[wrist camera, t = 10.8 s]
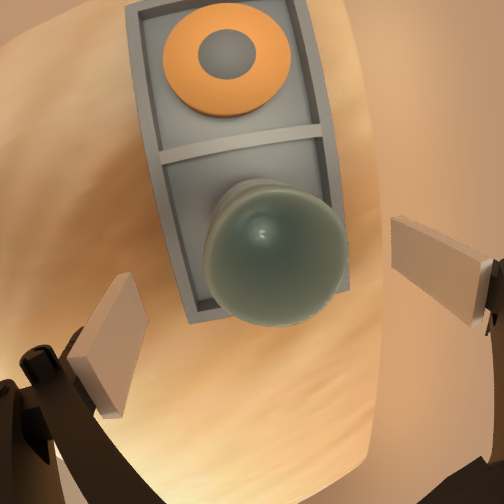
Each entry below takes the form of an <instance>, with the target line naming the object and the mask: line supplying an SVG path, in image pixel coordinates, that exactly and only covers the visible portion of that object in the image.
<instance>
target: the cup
mask: <svg viewBox="0 0 504 504" xmlns="http://www.w3.org/2000/svg"><path fill="white" fill-rule="evenodd" d="M348 258H349V242H348V237H347V232H346V230H345V228H344V226H343V224H342V222H341V220H340V218H339V217H338V216H337V214H336V213H335V212H334V211H333V210H332V208H331V207H329V206H328V205H327V204H326V203H324V202H323V201H322V200H321V199H319V198H318V197H316V196H315V195H313V194H311V193H309V192H307V191H305V190H303V189H301V188H299V187H297V186H294V185H292V184H289V183H285V182H282V181H279V180H275V179H267V178H255V179H248V180H245V181H242V182H239V183H237V184H235V185H234V186H232V187H231V188H229V189H228V190H227V191H226V192H225V193H224V194H223V195H222V196H221V198H220V199H219V201H218V202H217V204H216V205H215V207H214V209H213V211H212V214H211V216H210V218H209V222H208V226H207V230H206V234H205V240H204V251H203V269H204V276H205V281H206V284H207V286H208V289H209V291H210V293H211V295H212V296H213V298H214V299H215V300H216V302H217V303H218V304H219V305H220V306H221V307H222V308H223V309H224V310H226V311H227V312H228V313H229V314H231V315H233V316H235V317H237V318H238V319H240V320H243V321H246V322H248V323H251V324H255V325H260V326H265V327H283V326H290V325H294V324H297V323H300V322H303V321H305V320H307V319H309V318H310V317H312V316H314V315H315V314H317V313H318V312H319V311H320V310H321V309H322V308H324V307H325V306H326V305H327V303H328V302H329V301H330V300H331V298H332V297H333V296H334V294H335V293H336V291H337V289H338V288H339V286H340V284H341V282H342V279H343V277H344V274H345V272H346V268H347V263H348Z"/></svg>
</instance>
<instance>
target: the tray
mask: <svg viewBox="0 0 504 504" xmlns="http://www.w3.org/2000/svg"><path fill="white" fill-rule="evenodd" d="M219 3H236V4H243V5H247V6H250V7H253V8H256V9H258V10H260V11H262V12H263V13H265V14H267V15H268V16H269V17H271V18H272V19H273V20H274V21H275V22H276V23H277V24H278V25H279V26H280V28H281V29H282V30H283V32H284V34H285V36H286V38H287V40H288V43H289V46H290V52H291V63H290V69H289V72H288V75H287V77H286V80H285V82H284V83H283V85H282V86H281V88H280V89H279V90H278V91H277V93H276V94H275V95H274V96H272V97H271V98H270V99H269V100H268V101H267V102H266V103H265V104H264V105H263V106H261V107H260V108H259V109H257V110H255V111H253V112H251V113H249V114H246V115H243V116H239V117H234V118H215V117H210V116H206V115H203V114H200V113H198V112H196V111H194V110H193V109H191V108H190V107H188V106H187V105H186V104H185V103H183V102H182V100H181V99H180V98H179V97H178V96H177V94H176V93H175V92H174V90H173V89H172V87H171V86H170V84H169V82H168V80H167V78H166V76H165V72H164V68H163V51H164V47H165V44H166V41H167V39H168V37H169V35H170V33H171V31H172V30H173V29H174V27H175V26H176V25H177V24H178V23H179V22H180V21H181V20H182V19H183V18H184V17H186V16H187V15H189V14H190V13H192V12H194V11H196V10H198V9H200V8H203V7H205V6H209V5H213V4H219ZM125 16H126V27H127V37H128V46H129V54H130V62H131V70H132V77H133V84H134V91H135V97H136V104H137V110H138V116H139V121H140V127H141V133H142V138H143V143H144V149H145V154H146V159H147V164H148V168H149V173H150V178H151V183H152V187H153V192H154V196H155V200H156V205H157V209H158V213H159V217H160V222H161V226H162V230H163V234H164V238H165V242H166V245H167V249H168V253H169V257H170V261H171V264H172V268H173V272H174V275H175V279H176V282H177V286H178V289H179V293H180V296H181V299H182V303H183V306H184V309H185V313H186V316H187V319H188V322H189V324H193V323H199V322H205V321H210V320H215V319H221V318H226V317H231V316H233V315H231V314H229V313H228V312H227V311H226V310H224V309H223V308H222V307H221V306H220V305H219V304H218V303H217V302H216V300H215V299H214V298H213V296H212V295H211V293H210V291H209V289H208V286H207V284H206V281H205V276H204V269H203V251H204V240H205V234H206V230H207V226H208V222H209V218H210V216H211V214H212V211H213V209H214V207H215V205H216V204H217V202H218V201H219V199H220V198H221V196H222V195H223V194H224V193H225V192H226V191H227V190H228V189H229V188H231V187H232V186H234V185H235V184H237V183H239V182H242V181H245V180H248V179H255V178H267V179H275V180H279V181H282V182H285V183H289V184H292V185H294V186H297V187H299V188H301V189H303V190H305V191H307V192H309V193H311V194H313V195H315V196H316V197H318V198H319V199H321V200H322V201H323V202H324V203H326V204H327V205H328V206H329V207H331V208H332V210H333V211H334V212H335V213H336V214H337V216H338V217H339V218H340V220H341V222H342V224H343V226H344V228H345V230H346V224H345V213H344V204H343V194H342V186H341V177H340V169H339V162H338V155H337V148H336V141H335V134H334V128H333V122H332V116H331V110H330V105H329V99H328V94H327V89H326V84H325V79H324V74H323V69H322V64H321V60H320V55H319V51H318V47H317V42H316V38H315V34H314V30H313V26H312V22H311V18H310V14H309V11H308V7H307V3H306V0H143V1H139V2H136V3H133V4H129V5H126V6H125ZM348 290H350V282H349V264H348V263H347V268H346V272H345V274H344V277H343V279H342V282H341V284H340V286H339V288H338V289H337V291H336V293H340V292H344V291H348ZM336 293H335V294H336Z"/></svg>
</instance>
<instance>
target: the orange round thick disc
mask: <svg viewBox="0 0 504 504" xmlns="http://www.w3.org/2000/svg"><path fill="white" fill-rule="evenodd" d="M290 63H291V52H290V46H289V43H288V40H287V38H286V36H285V34H284V32H283V30H282V29H281V28H280V26H279V25H278V24H277V23H276V22H275V21H274V20H273V19H272V18H271V17H269V16H268V15H267V14H265V13H263V12H262V11H260V10H258V9H256V8H253V7H250V6H247V5H243V4H236V3H219V4H213V5H209V6H205V7H203V8H200V9H198V10H196V11H194V12H192V13H190V14H189V15H187V16H186V17H184V18H183V19H182V20H181V21H180V22H179V23H178V24H177V25H176V26H175V27H174V29H173V30H172V31H171V33H170V35H169V37H168V39H167V41H166V44H165V47H164V51H163V68H164V72H165V76H166V78H167V80H168V82H169V84H170V86H171V87H172V89H173V90H174V92H175V93H176V94H177V96H178V97H179V98H180V99H181V100H182V102H183V103H185V104H186V105H187V106H188V107H190V108H191V109H193V110H194V111H196V112H198V113H200V114H203V115H206V116H210V117H215V118H234V117H239V116H243V115H246V114H249V113H251V112H253V111H255V110H257V109H259V108H260V107H261V106H263V105H264V104H265V103H266V102H267V101H268V100H269V99H270V98H271V97H272V96H274V95H275V94H276V93H277V91H278V90H279V89H280V88H281V86H282V85H283V83H284V82H285V80H286V77H287V75H288V72H289V69H290Z"/></svg>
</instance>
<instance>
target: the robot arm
mask: <svg viewBox="0 0 504 504" xmlns="http://www.w3.org/2000/svg"><path fill="white" fill-rule="evenodd" d="M391 245H392V268H394V269H395V270H397V271H398V272H399V273H401V274H402V275H404V276H405V277H406V278H407V279H409V280H410V281H411V282H413V283H414V284H415V285H417V286H418V287H420V288H421V289H422V290H423V291H425V292H426V293H427V294H429V295H430V296H431V297H433V298H434V299H435V300H436V301H438V302H439V303H440V304H442V305H443V306H444V307H445V308H447V309H448V310H449V311H451V312H452V313H453V314H454V315H456V316H457V317H458V318H459V319H461V320H462V321H463V322H464V323H465V324H467V325H468V326H469V327H472V326H474V325H476V324H478V323H480V322H482V320H483V315H484V311H485V308H487V309H488V310H490V311H491V313H490V318H489V322H488V326H487V330H486V334H485V336H488V333H489V332H490V333H491V342H492V353H493V367H494V433H493V448H492V454H491V457H490V460H489V462H488V463H486V462H485V461H484V459H483V458H482V457H481V456H480V457H478V458H477V459H476V460H474V461H473V462H471V463H469V464H468V465H466V466H465V467H463V468H462V469H460V470H458V471H457V472H455V473H454V474H452V475H450V476H448V477H447V478H446V479H445V480H444V481H443V482H441V483H440V484H439V485H438V486H437V487H436V488H435V489H434V490H432V491H431V492H430V493H429V494H428V495H427V496H425V497H424V498H423V499H422V500H421V501H419V502H418V503H417V504H504V259H502V260H500V262H498V261H496V260H495V259H493V257H491V256H489V255H487V254H485V253H482V252H481V251H479V250H477V249H475V248H473V247H471V246H469V245H466V244H464V243H462V242H460V241H458V240H456V239H454V238H452V237H450V236H447V235H445V234H443V233H441V232H438V231H436V230H434V229H432V228H430V227H427V226H425V225H423V224H421V223H418V222H416V221H414V220H411V219H409V218H406V217H404V216H399V217H394V218H391ZM147 324H148V318H147V315H146V313H145V310H144V307H143V304H142V301H141V299H140V296H139V293H138V290H137V287H136V284H135V281H134V278H133V275H132V272H127V273H122V274H117V276H116V277H115V279H114V280H113V282H112V283H111V285H110V286H109V288H108V289H107V291H106V293H105V294H104V296H103V297H102V299H101V300H100V302H99V304H98V305H97V307H96V308H95V310H94V312H93V313H92V315H91V317H90V318H89V320H88V322H87V323H86V325H85V326H84V327H81V328H80V329H79V330H78V331H76V332H75V333H74V334H73V336H72V337H71V339H70V341H69V343H68V344H67V346H66V347H65V349H64V351H63V352H62V354H61V356H60V358H59V359H58V358H57V356H56V354H55V353H54V351H53V349H52V347H51V346H50V345H39V346H36V347H34V348H32V349H30V350H29V351H27V352H26V353H25V354H24V355H23V356H22V358H21V359H20V364H19V365H20V367H21V368H22V370H23V372H24V373H25V375H26V377H27V378H28V380H29V381H30V383H31V385H32V386H29V387H26V388H23V389H19V388H18V387H17V385H16V384H15V382H14V381H13V380H11V379H6V380H2V381H0V504H65V500H64V496H63V491H62V487H61V482H60V478H59V472H58V466H57V461H56V454H55V447H54V441H55V443H56V446H57V448H58V450H59V452H60V454H61V456H62V458H63V460H64V462H65V464H66V465H67V467H68V469H69V471H70V473H71V475H72V477H73V478H74V480H75V482H76V484H77V485H78V487H79V489H80V491H81V492H82V494H83V496H84V497H85V499H86V500H87V502H88V504H166V503H165V502H164V501H163V500H162V499H161V498H160V497H159V496H158V495H157V494H156V493H155V492H154V491H153V490H152V489H151V487H150V486H149V485H148V484H147V483H146V482H145V481H144V480H143V479H142V478H141V476H140V475H139V474H138V473H137V472H136V471H135V470H134V468H133V467H132V466H131V465H130V464H129V463H128V461H127V460H126V459H125V458H124V456H123V455H122V454H121V453H120V452H119V450H118V449H117V448H116V446H115V445H114V444H113V443H112V441H111V440H110V439H109V437H108V436H107V435H106V433H105V432H104V431H103V429H102V428H101V426H100V425H99V424H98V422H97V421H96V419H95V418H94V417H93V415H94V412H95V409H97V410H98V412H99V413H100V415H101V416H102V417H103V419H112V418H122V417H123V413H124V409H125V404H126V400H127V396H128V392H129V388H130V385H131V381H132V377H133V373H134V369H135V366H136V362H137V359H138V355H139V351H140V348H141V344H142V341H143V338H144V334H145V331H146V327H147Z"/></svg>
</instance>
